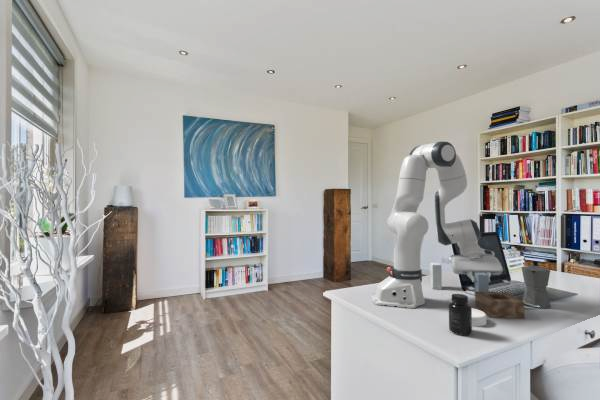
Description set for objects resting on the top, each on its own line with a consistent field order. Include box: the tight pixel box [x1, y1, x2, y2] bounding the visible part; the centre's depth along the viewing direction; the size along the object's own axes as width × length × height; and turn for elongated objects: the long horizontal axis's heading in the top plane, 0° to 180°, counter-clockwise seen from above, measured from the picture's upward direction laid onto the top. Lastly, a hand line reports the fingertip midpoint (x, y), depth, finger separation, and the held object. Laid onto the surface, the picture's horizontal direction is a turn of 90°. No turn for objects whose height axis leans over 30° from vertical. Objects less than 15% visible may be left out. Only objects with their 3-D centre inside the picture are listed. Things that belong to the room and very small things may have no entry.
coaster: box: [471, 307, 488, 327], centre depth 110 cm, size 10×10×4 cm
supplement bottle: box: [448, 293, 473, 336], centre depth 101 cm, size 7×7×12 cm
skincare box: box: [429, 262, 443, 290], centre depth 152 cm, size 6×4×12 cm
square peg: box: [473, 273, 490, 293], centre depth 132 cm, size 4×4×9 cm
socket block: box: [474, 291, 526, 319], centre depth 118 cm, size 12×12×6 cm
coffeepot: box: [521, 260, 552, 310], centre depth 126 cm, size 15×9×18 cm, turn 136°
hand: (481, 282), depth 132 cm, fingers closed on square peg, 4 cm apart
